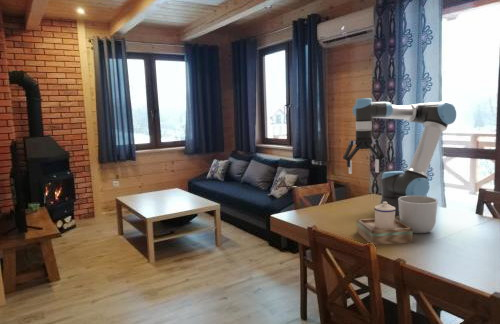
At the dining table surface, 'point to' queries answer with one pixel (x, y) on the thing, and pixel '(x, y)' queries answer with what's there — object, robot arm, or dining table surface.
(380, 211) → the teacup with lid
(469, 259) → the dining table surface
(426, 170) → the robot arm
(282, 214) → the dining table surface
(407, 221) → the planter
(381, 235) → the brown wooden box
